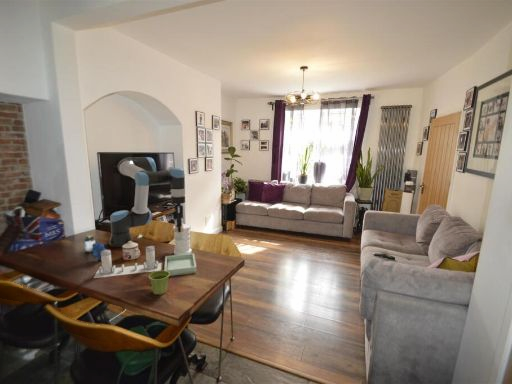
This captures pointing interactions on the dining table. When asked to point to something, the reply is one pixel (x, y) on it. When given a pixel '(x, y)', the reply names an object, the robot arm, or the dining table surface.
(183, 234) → the cylinder
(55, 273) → the dining table surface
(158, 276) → the plant pot
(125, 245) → the teacup with lid
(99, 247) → the grapes
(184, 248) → the decorative container
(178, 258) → the tray
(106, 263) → the block
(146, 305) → the dining table surface
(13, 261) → the dining table surface
